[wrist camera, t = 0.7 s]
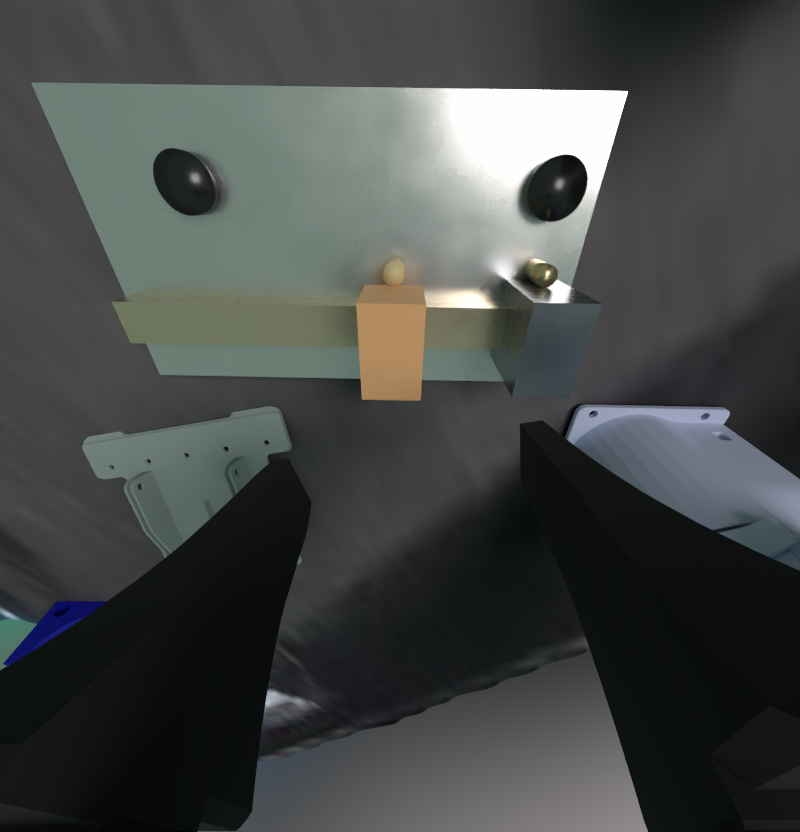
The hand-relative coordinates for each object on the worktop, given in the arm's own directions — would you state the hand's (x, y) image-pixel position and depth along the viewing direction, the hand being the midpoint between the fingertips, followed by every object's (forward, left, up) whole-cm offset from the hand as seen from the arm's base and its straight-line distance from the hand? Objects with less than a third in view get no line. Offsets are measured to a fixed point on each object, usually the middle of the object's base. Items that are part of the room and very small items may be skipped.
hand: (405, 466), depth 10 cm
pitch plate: (+3, -4, -10) cm, 12 cm away
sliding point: (+1, -2, -9) cm, 9 cm away
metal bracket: (+14, +12, -11) cm, 22 cm away
